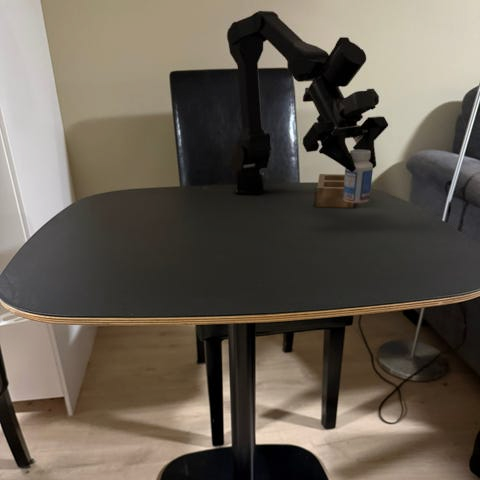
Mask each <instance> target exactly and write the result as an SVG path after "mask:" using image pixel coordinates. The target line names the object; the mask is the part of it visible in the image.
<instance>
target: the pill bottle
mask: <svg viewBox="0 0 480 480" xmlns="http://www.w3.org/2000/svg"><path fill="white" fill-rule="evenodd" d="M349 153H350V155H351V157H352V159H353V162H354V164H355V167H356V169H355V170H354V171H353V172H351V171H349V170H348V169H346V168H345V167H344V175H345V179H344V193H343V200H344V201H346V202H350V203H354V204H365V203H368V202H369V201H370V199H371V191H372V190H371V189H372V181H373V173H374V168H373V165H372V163H371V162H369V159H370V155H371V151H369V150H354V149H351V150H350V151H349Z"/></svg>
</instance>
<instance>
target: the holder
mask: <svg viewBox="0 0 480 480" xmlns="http://www.w3.org/2000/svg"><path fill="white" fill-rule="evenodd" d="M344 179H345V174H338V173H337V174H336V173H335V174H333V173H331V174H330V173H319V174H318V180H317V187H316V202H315V207H317V208H318V207H319V208H348V209H349V208H350V209H354V205H355V203H350V202H346V201H344V200H343V193H344Z"/></svg>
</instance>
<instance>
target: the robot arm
mask: <svg viewBox="0 0 480 480" xmlns="http://www.w3.org/2000/svg"><path fill="white" fill-rule="evenodd" d="M226 40H227V44H228V49H229V54H230V55H231V57H232V59H233V61H234V62H235V64H236V66H237V79H238V90H239V91H238V92H239V103H240V104H239V105H240V117H241V130H240V133H239V135H238V137H237V140H236V150H235V152H234V154H233V156H232V157H231V159H230V167H231V170H234V171H236V191H235V194H238V195H261V193H262V191H263V190H264V186H265V182H264V181H265V178H264V177H265V174H264V172H263V171H262V169H267V168H268V165H269V161H270V157H271V151H272V146H271V135H270V133H269V132H267V133H266V131H265V130H264V128H263V126H262V111H261V97H260V95H261V93H260V79H259V61H260V59H261V58H262V57H261V56H262V54H263V52H264V43H265V42H266V41H268V43H269V44H271V45H272V46H273V48H274V49H275V50H276V51H277V52H279V54H280V55H281V56H282V57H283V58H284V59H285V60H286V61H287V62H286V63H287V64H286V65H287V70H288V71H289V73H290V74H291V76H292V77H293V79H294V80H295V81H297V82H299V83H304V82H311V83H310V85H309V86H308V87H305V88H304V93H303V96H302V102H303V103H308V102H312V103H313V105H314V107H315V109H316V111H317V113H318V116H317V118H316V120H317V121H314V122H313V124H312V125H311V127H310V128H309V129H308V131H306V133H305V134H304V136H303V138H302V145H303V147H304V149H305V152H306V153H311V152H317V151H318V153H319V154H322V155H325V156H326V157H328V158H329V159H331V160H333V161H335V162H336V163H337V164H339V165H341V166H342V167H343V168H344V169H345V168H346V169H348V170H349V171H351V172H353V171H354V170H355V169H356V167H355V164H354V162H353V159H352V157H351V155H350V151H349V148H348V146H347V144H346V139H351V138H352V139H353V140H354V142H355V145H353V146H352V150H369V151H371V155H370V159H369V162H371V163H372V165H373V169H375V168H376V167H377V158H376V157H377V156H376V150H375V141H376V139H378V137H379V136H380V135H381V134H382V133H383V132H384V131H385V130H386V129H387V128H388V127H389V123H388V121H387V119H386V117H385V116H381V115H378V116H368V117H367V118H366V119H365V120H364V121H363V122H362V124H358V122H361V120H363V118H364V116H363V114H365V113H366V112H368V111H370V110H375V109H376V106H377V105H379V102H380V96H379V94H378V93H377V90H375V88H366V90H358V91H355V92H352V93H351V94H349V95H348V96H346V97H345V96H344V95H343V93H342V90H341V89H340V87H341V88H345V87H347V86H349V84H350V83H351V81H353V79H354V78H355V77H356V75H358V73H359V71H360V70H361V69H362V67H363V66H364V64H366V61H367V54H366V52H365V51H364V49H363V48H361V47H360V46H359V45H357V44H356V43H354V42H353V41H351V40H350V38H349V37H347V36H346V37H345V36H341V37H339V38H338V39H337V41H336V43H335V45H334V47H333V48H332V50H331V51H330V53H328V52H327V51H326V50H325V49H323V48H321V47H319V46H317V45H314V44H311V43H308V42H305V41H304V40H303V39H302V38H300V36H298V35H297V33H296V32H294V31H293V30H292V29H291V28H290V27H289V26H288V25H287V24H286V23H285V22H284V21H283V20H281V18H280V17H279V15H278V14H277V13H276V12H275V11H272V10H258V11H256V12H254V13H252V14H251V15H250V16H247V17H244V18H242V19H239V20H237V21H234V22H232V23H231V24H230V27H229V28H228V29H227V33H226ZM319 142H320V144H319ZM320 145H321V147H320ZM319 147H320V148H319Z"/></svg>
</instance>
